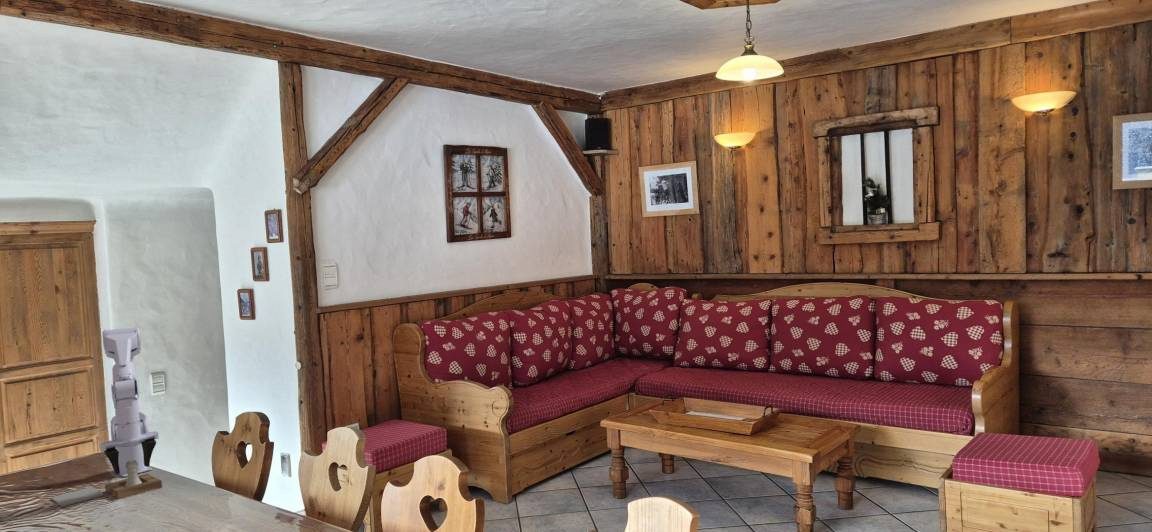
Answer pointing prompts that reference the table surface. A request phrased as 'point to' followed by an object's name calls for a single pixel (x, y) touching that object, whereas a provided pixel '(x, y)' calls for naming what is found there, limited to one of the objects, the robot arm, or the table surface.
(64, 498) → the slate mat
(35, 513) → the table surface
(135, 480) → the rook chess piece
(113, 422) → the robot arm
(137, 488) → the square wooden frame
